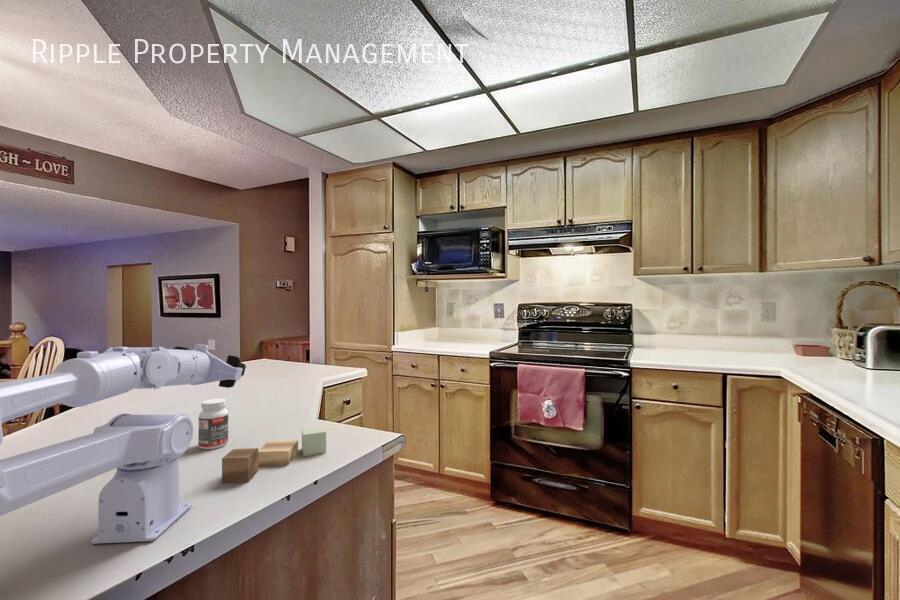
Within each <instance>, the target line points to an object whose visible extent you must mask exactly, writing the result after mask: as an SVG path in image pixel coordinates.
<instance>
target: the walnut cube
mask: <svg viewBox="0 0 900 600" xmlns="http://www.w3.org/2000/svg"><path fill="white" fill-rule="evenodd" d="M258 451H259V447H254V448H253V447H252V448H233V449H231V450H230V451H229V452H228V453H226V455H225V456H222V457H221V484H237V483H238V484H241V482H247V483H250V482H251V480H252V479H253V478H255V476H256V475H257V474H258V473H259V472H258V471H259V468H260V467H259V466H258ZM257 472H258V473H257ZM256 473H257V474H256ZM255 474H256V475H255ZM254 475H255V476H254ZM239 482H240V483H239Z"/></svg>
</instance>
